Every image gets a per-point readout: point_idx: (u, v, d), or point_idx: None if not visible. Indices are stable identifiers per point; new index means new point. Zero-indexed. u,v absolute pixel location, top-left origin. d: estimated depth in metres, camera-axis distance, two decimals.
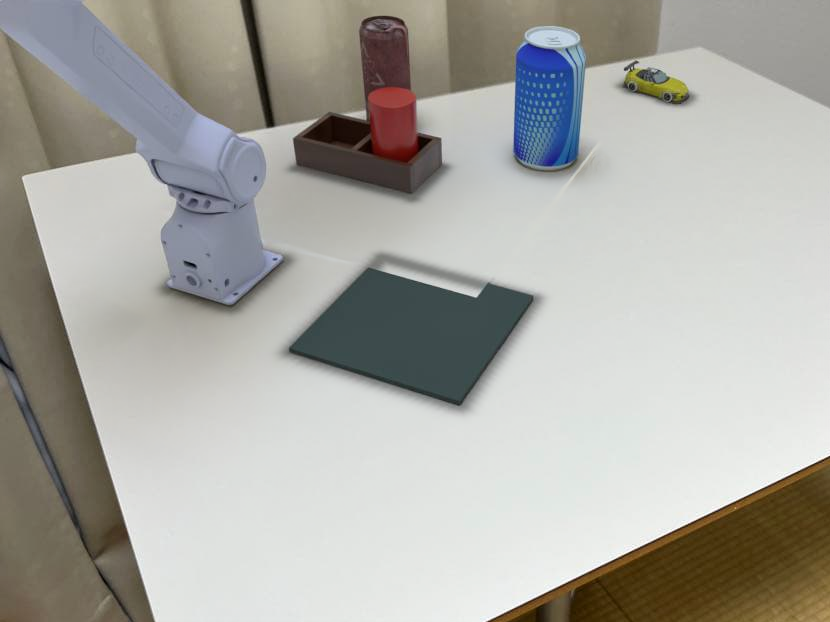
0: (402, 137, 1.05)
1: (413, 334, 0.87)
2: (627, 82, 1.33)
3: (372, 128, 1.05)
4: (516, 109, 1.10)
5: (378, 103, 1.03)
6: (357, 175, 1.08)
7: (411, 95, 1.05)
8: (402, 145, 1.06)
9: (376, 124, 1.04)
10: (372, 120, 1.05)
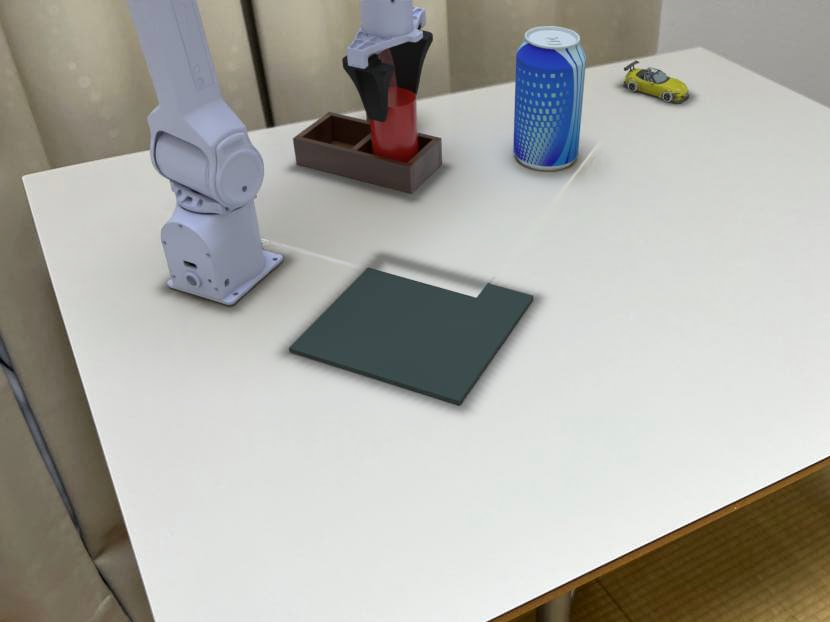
0: (402, 137, 1.05)
1: (413, 334, 0.87)
2: (627, 82, 1.33)
3: (372, 128, 1.05)
4: (516, 109, 1.10)
5: None
6: (357, 175, 1.08)
7: (411, 95, 1.05)
8: (402, 145, 1.06)
9: (376, 124, 1.04)
10: (372, 120, 1.05)
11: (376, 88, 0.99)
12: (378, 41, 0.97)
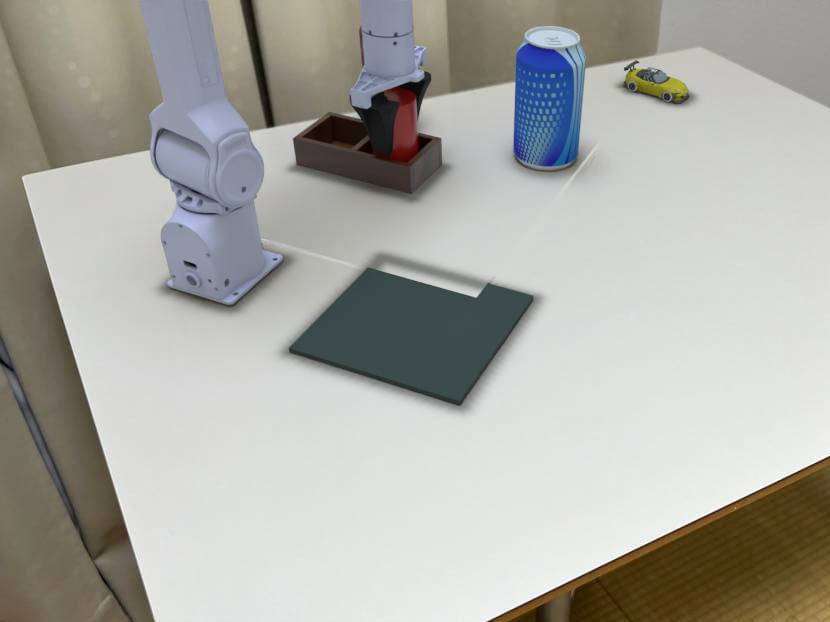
0: (402, 137, 1.05)
1: (413, 334, 0.87)
2: (627, 82, 1.33)
3: None
4: (516, 109, 1.10)
5: None
6: (357, 175, 1.08)
7: (411, 95, 1.05)
8: (402, 145, 1.06)
9: None
10: None
11: (382, 123, 1.03)
12: (381, 81, 1.00)
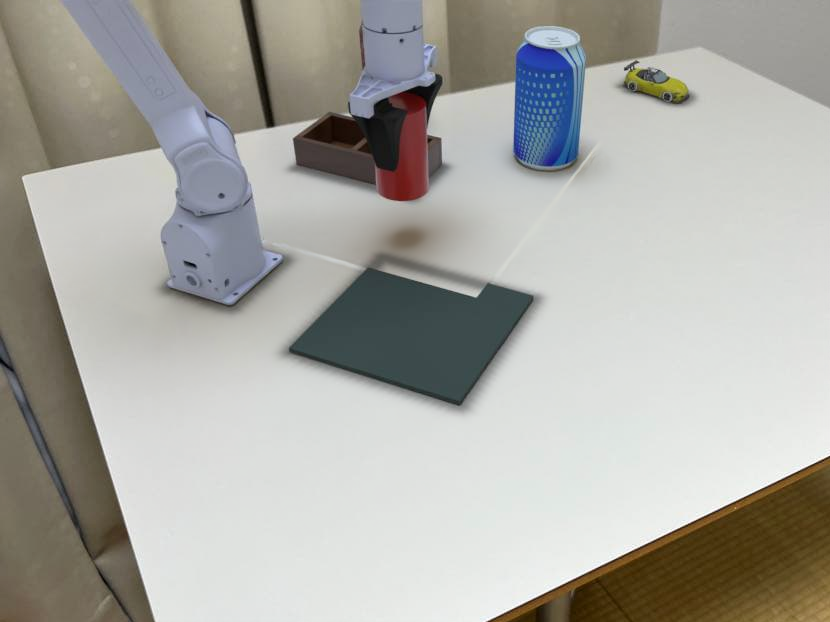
0: (410, 150, 0.90)
1: (413, 334, 0.87)
2: (627, 82, 1.33)
3: None
4: (516, 109, 1.10)
5: None
6: (357, 175, 1.08)
7: (420, 101, 0.90)
8: (410, 159, 0.91)
9: None
10: None
11: (386, 135, 0.88)
12: (385, 86, 0.85)
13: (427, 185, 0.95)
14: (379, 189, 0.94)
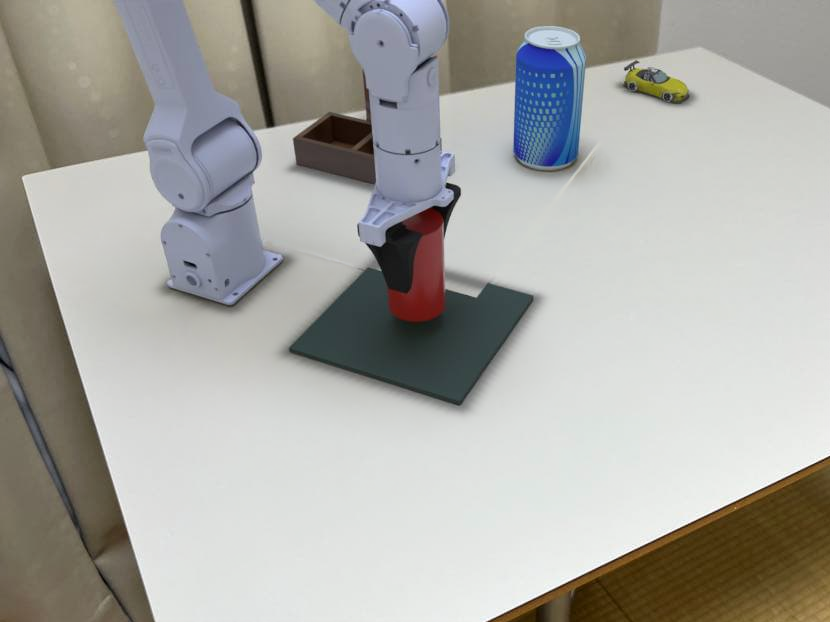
0: (425, 271, 0.82)
1: (413, 334, 0.87)
2: (627, 82, 1.33)
3: None
4: (516, 109, 1.10)
5: None
6: (357, 175, 1.08)
7: (437, 217, 0.82)
8: (425, 280, 0.82)
9: None
10: None
11: (399, 257, 0.80)
12: (398, 207, 0.77)
13: (444, 302, 0.87)
14: (391, 308, 0.86)
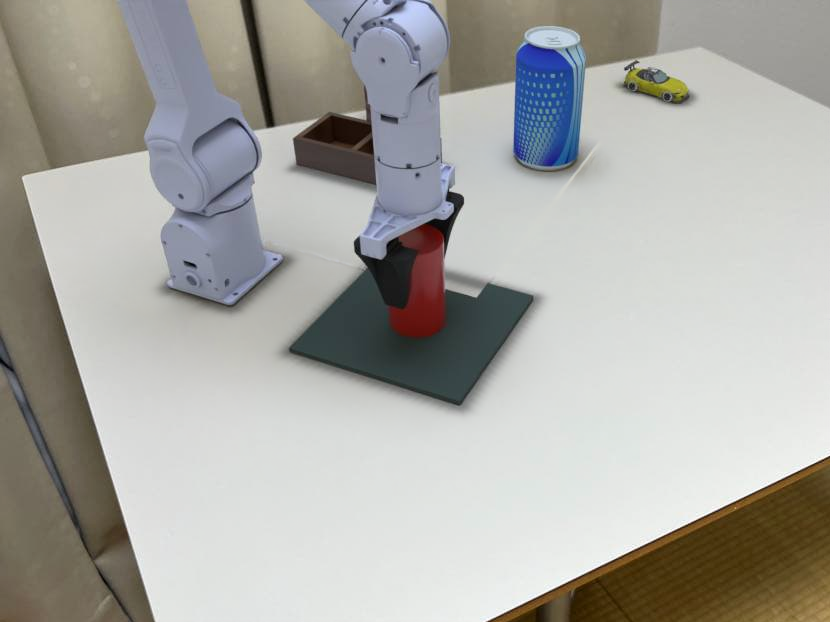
0: (426, 288, 0.83)
1: None
2: (627, 82, 1.33)
3: None
4: (516, 109, 1.10)
5: None
6: (357, 175, 1.08)
7: (437, 235, 0.83)
8: (426, 297, 0.84)
9: None
10: None
11: (395, 273, 0.80)
12: (399, 220, 0.77)
13: (444, 318, 0.88)
14: (392, 324, 0.87)
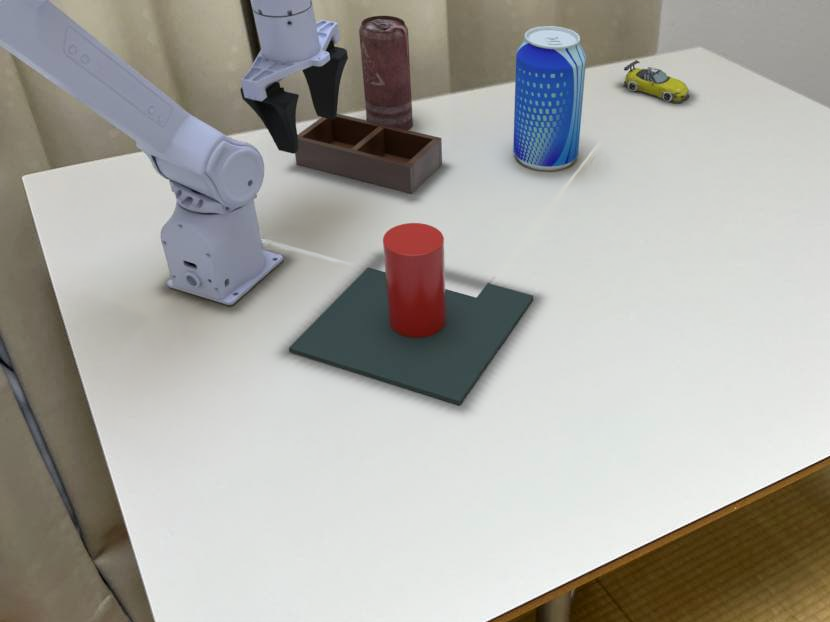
0: (426, 288, 0.83)
1: None
2: (627, 82, 1.33)
3: (388, 276, 0.83)
4: (516, 109, 1.10)
5: (396, 248, 0.81)
6: (357, 175, 1.08)
7: (437, 235, 0.83)
8: (426, 297, 0.84)
9: (393, 273, 0.82)
10: (388, 268, 0.83)
11: (282, 118, 0.90)
12: (278, 67, 0.87)
13: (444, 318, 0.88)
14: (392, 324, 0.87)
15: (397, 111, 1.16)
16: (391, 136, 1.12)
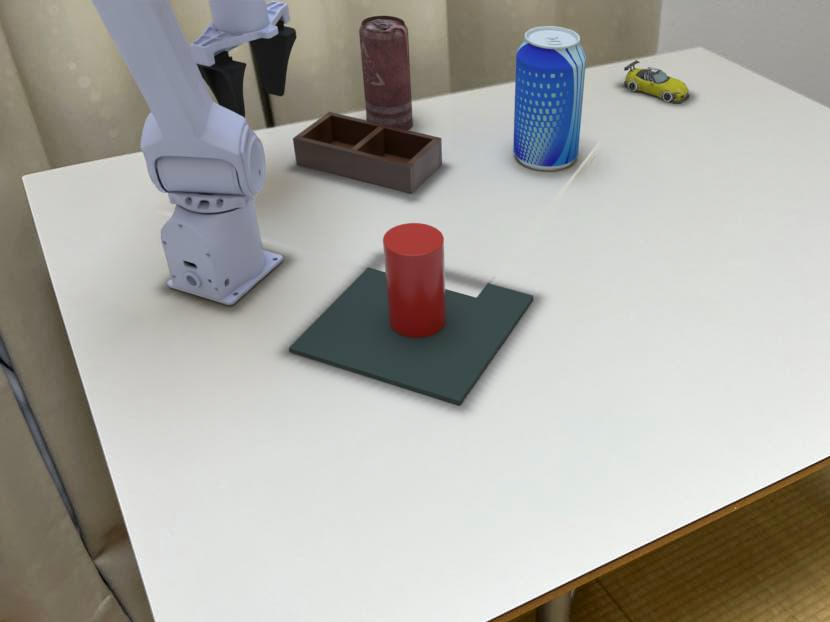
0: (426, 288, 0.83)
1: None
2: (627, 82, 1.33)
3: (388, 276, 0.83)
4: (516, 109, 1.10)
5: (396, 248, 0.81)
6: (357, 175, 1.08)
7: (437, 235, 0.83)
8: (426, 297, 0.84)
9: (393, 273, 0.82)
10: (388, 268, 0.83)
11: (229, 87, 0.94)
12: (228, 37, 0.92)
13: (444, 318, 0.88)
14: (392, 324, 0.87)
15: (397, 111, 1.16)
16: (391, 136, 1.12)
